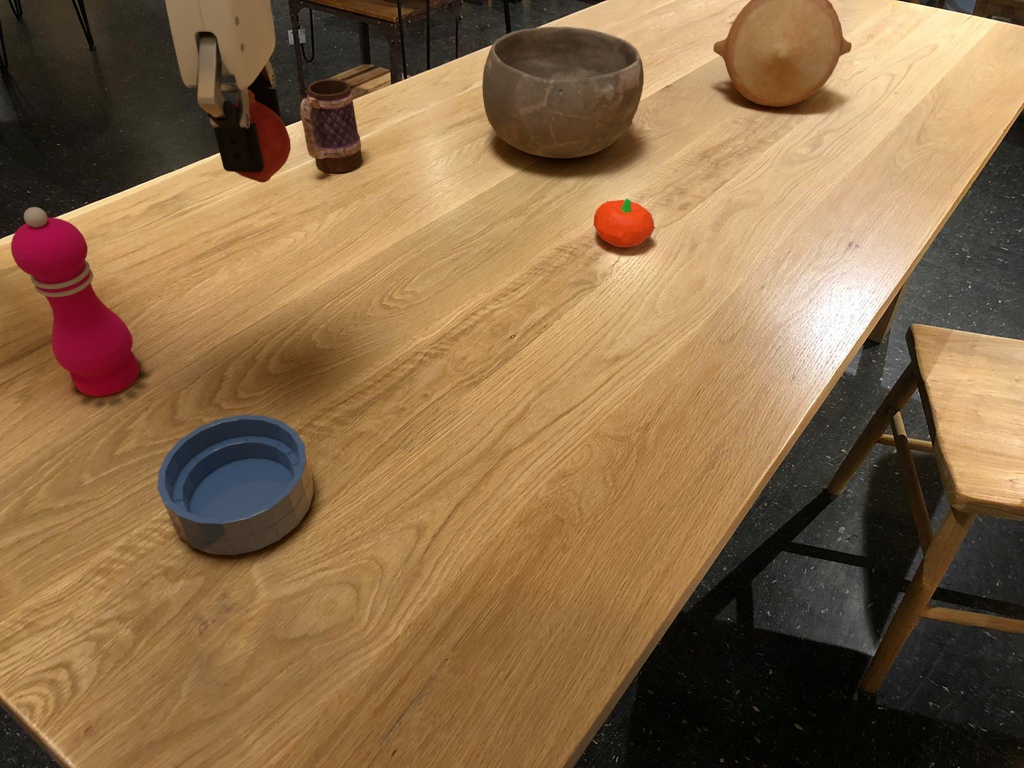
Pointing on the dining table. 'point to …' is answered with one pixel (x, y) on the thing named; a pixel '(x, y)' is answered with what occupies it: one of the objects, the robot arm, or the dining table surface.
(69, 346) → the pepper mill
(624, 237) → the pumpkin
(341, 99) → the mug
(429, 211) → the dining table surface
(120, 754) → the dining table surface
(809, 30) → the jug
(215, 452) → the blue bowl
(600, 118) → the bowl
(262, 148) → the onion
